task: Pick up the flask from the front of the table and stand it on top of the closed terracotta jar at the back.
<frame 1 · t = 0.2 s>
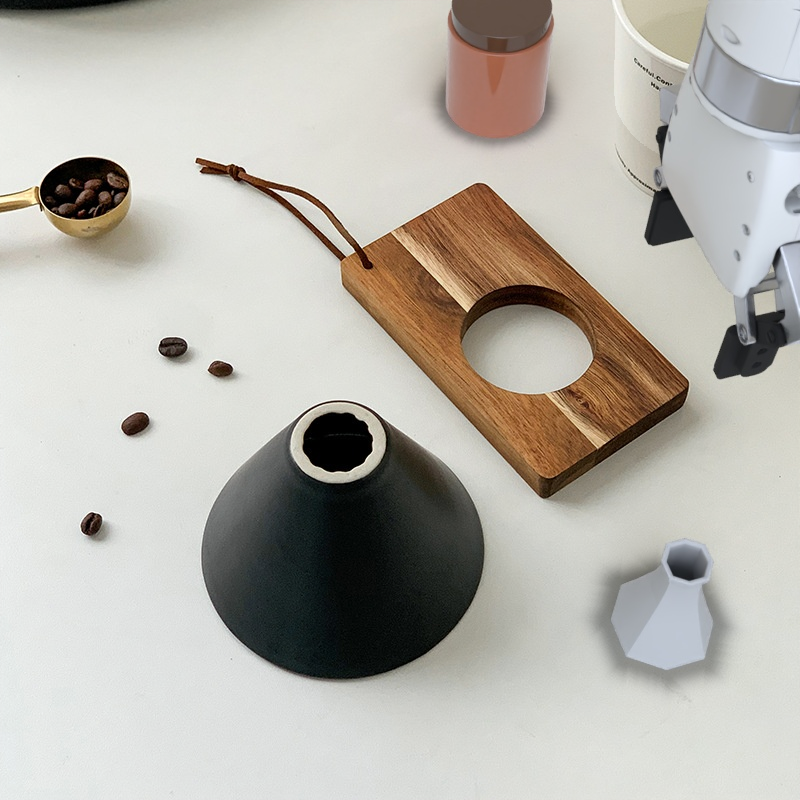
hand: (704, 301, 67), 24 cm above the countertop, tool pointing down, fingers open, 9 cm apart
jar: (494, 109, 109), on the countertop
flask: (659, 626, 81), on the countertop
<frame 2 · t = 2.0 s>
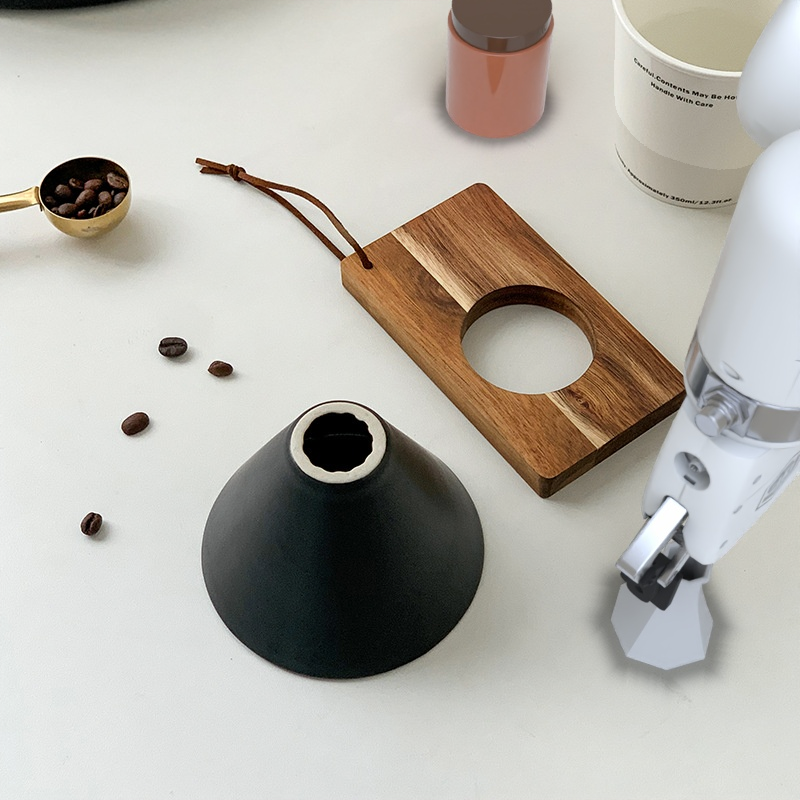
hand: (695, 536, 70), 14 cm above the countertop, tool pointing down, fingers open, 9 cm apart
nothing on the countertop moved.
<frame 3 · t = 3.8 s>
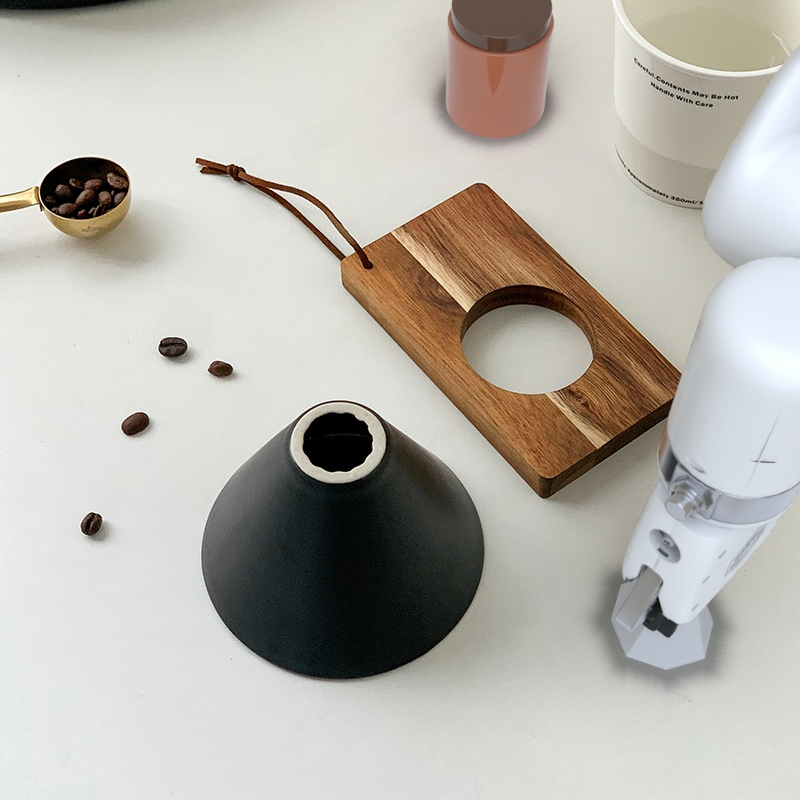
hand: (672, 597, 77), 5 cm above the countertop, tool pointing down, fingers closed on flask, 3 cm apart
flask: (659, 626, 81), on the countertop, touching gripper
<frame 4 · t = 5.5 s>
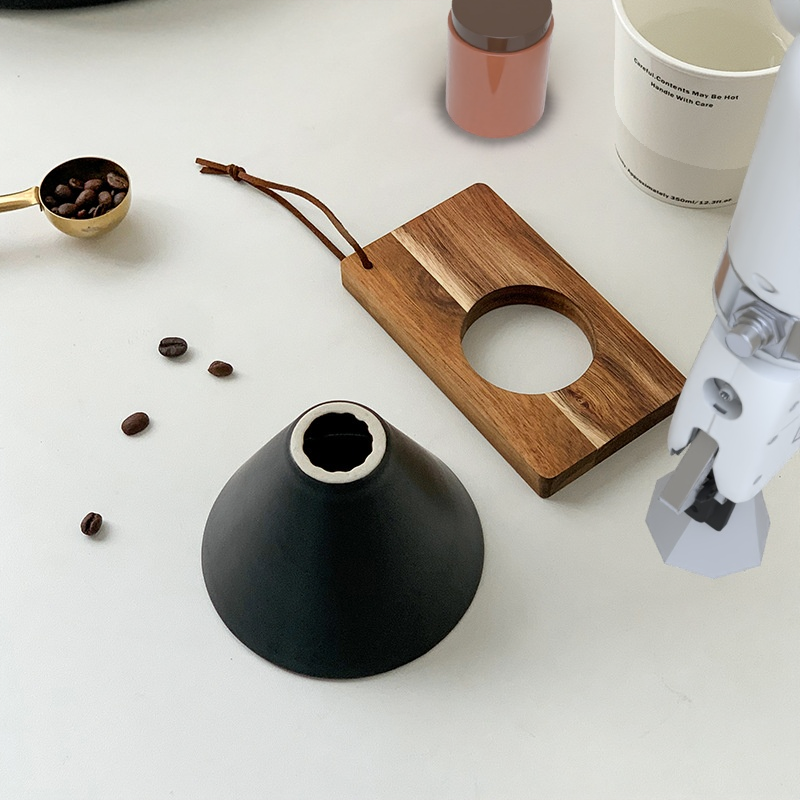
hand: (722, 485, 66), 19 cm above the countertop, tool pointing down, fingers closed on flask, 3 cm apart
flask: (706, 525, 70), point 14 cm above the countertop, touching gripper
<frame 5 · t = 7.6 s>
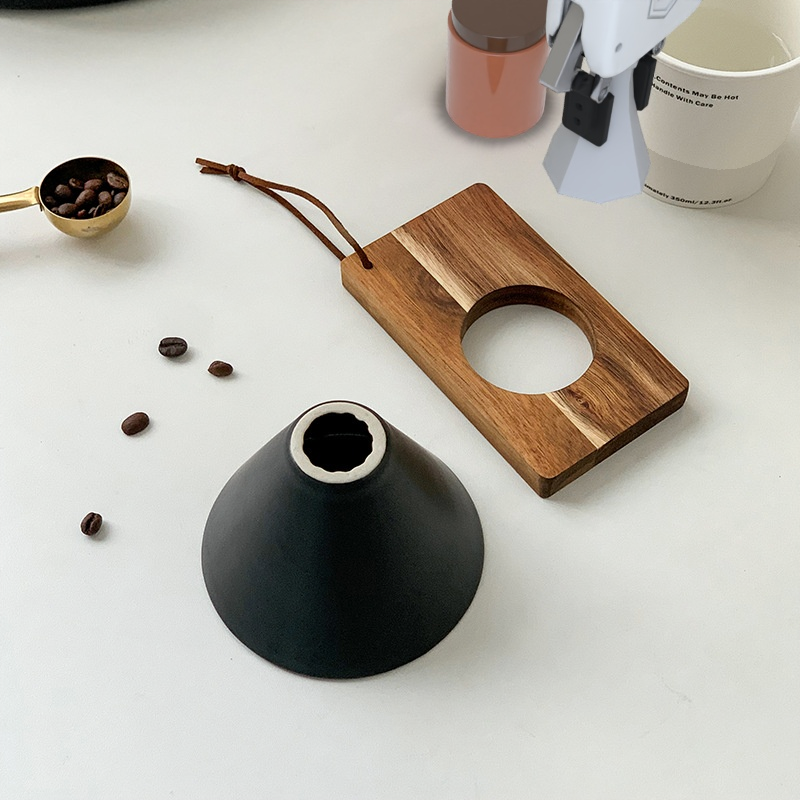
hand: (604, 114, 76), 23 cm above the countertop, tool pointing down, fingers closed on flask, 3 cm apart
flask: (595, 168, 80), point 18 cm above the countertop, touching gripper
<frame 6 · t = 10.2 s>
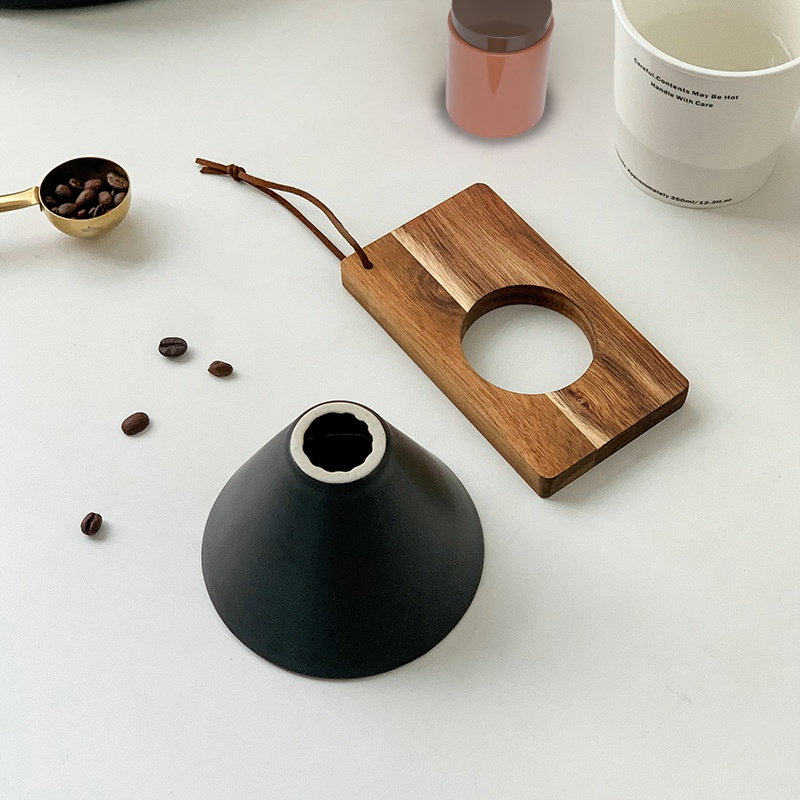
when the fingers open (16 cm above the countertop, at t = 11.7 s): flask stays where it is, resting on jar.
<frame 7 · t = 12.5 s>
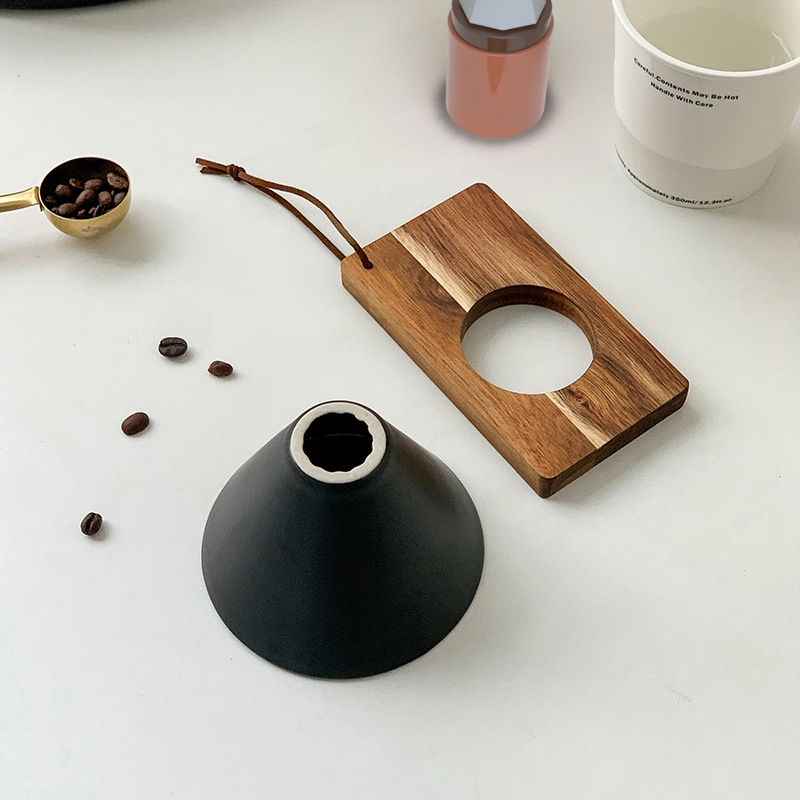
flask: (502, 6, 100), point 11 cm above the countertop, touching jar
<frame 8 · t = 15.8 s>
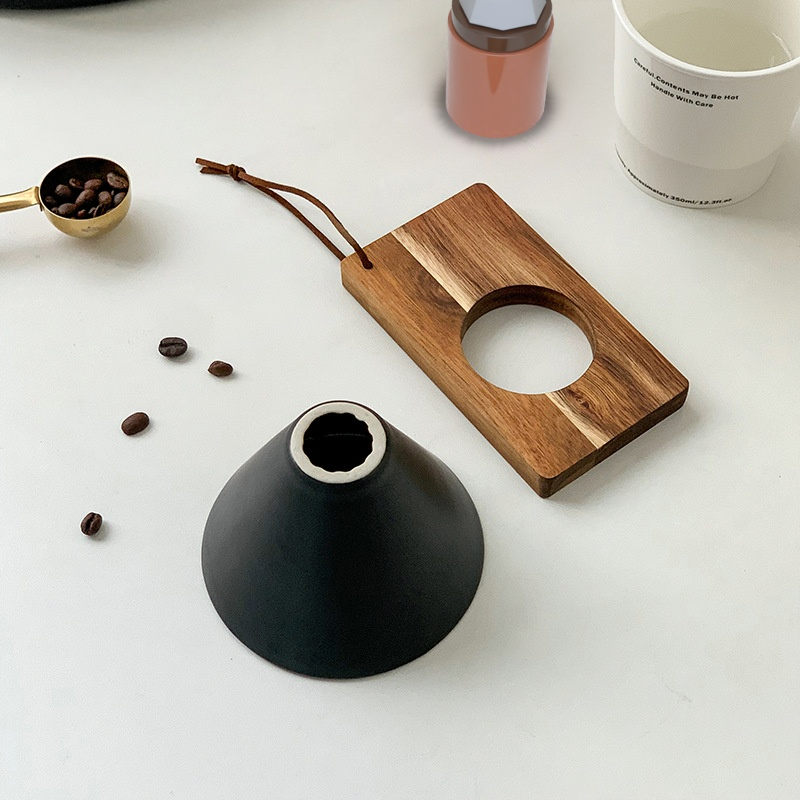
nothing on the countertop moved.
at the end: flask 0.0 cm off-centre on the jar, point 11.4 cm above the jar's base; flask tilted 0° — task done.
